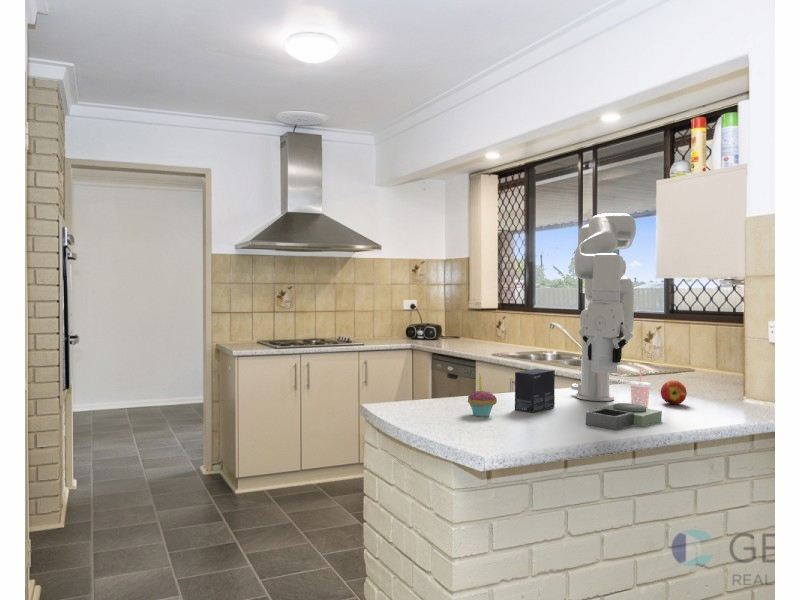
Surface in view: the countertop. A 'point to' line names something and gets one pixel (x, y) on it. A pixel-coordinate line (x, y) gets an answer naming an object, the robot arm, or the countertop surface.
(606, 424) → the frame
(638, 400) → the beverage cup
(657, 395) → the countertop surface
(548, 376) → the small box
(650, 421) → the green domed square base
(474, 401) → the cupcake
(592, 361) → the skincare box
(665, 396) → the apple
